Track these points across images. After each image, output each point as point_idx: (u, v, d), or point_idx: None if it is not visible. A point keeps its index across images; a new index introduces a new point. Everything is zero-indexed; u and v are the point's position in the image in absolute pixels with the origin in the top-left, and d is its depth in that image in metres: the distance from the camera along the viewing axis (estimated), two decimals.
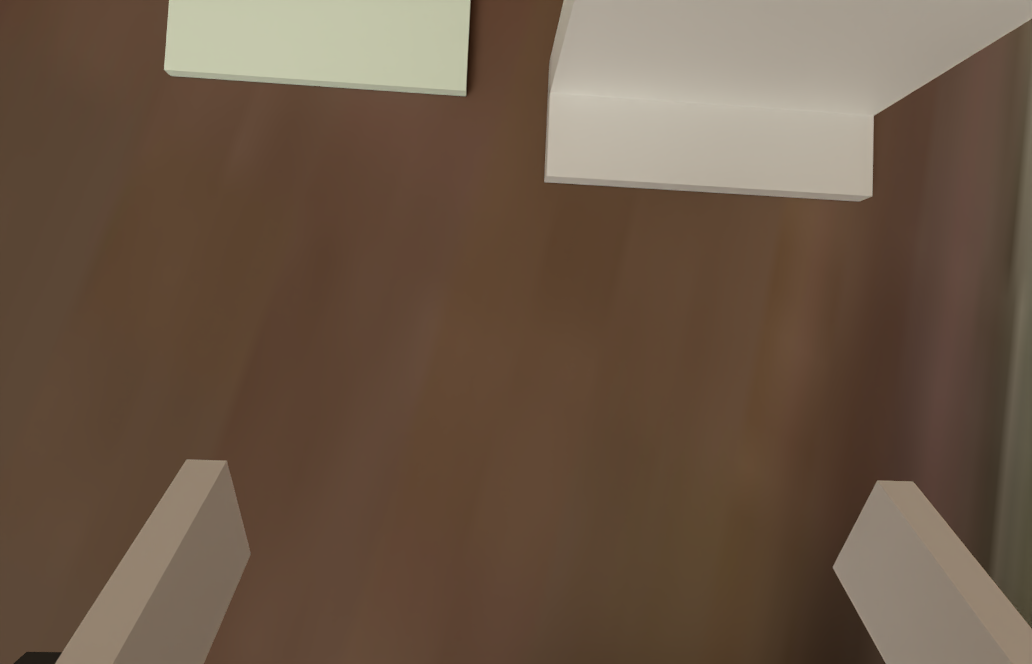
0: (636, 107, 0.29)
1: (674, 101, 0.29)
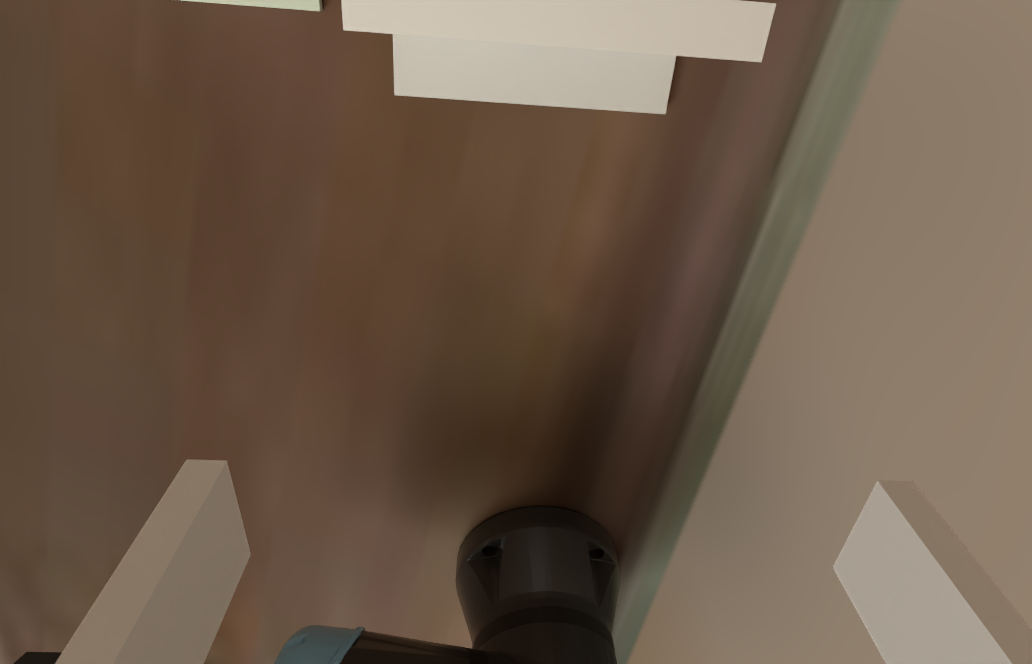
0: None
1: None
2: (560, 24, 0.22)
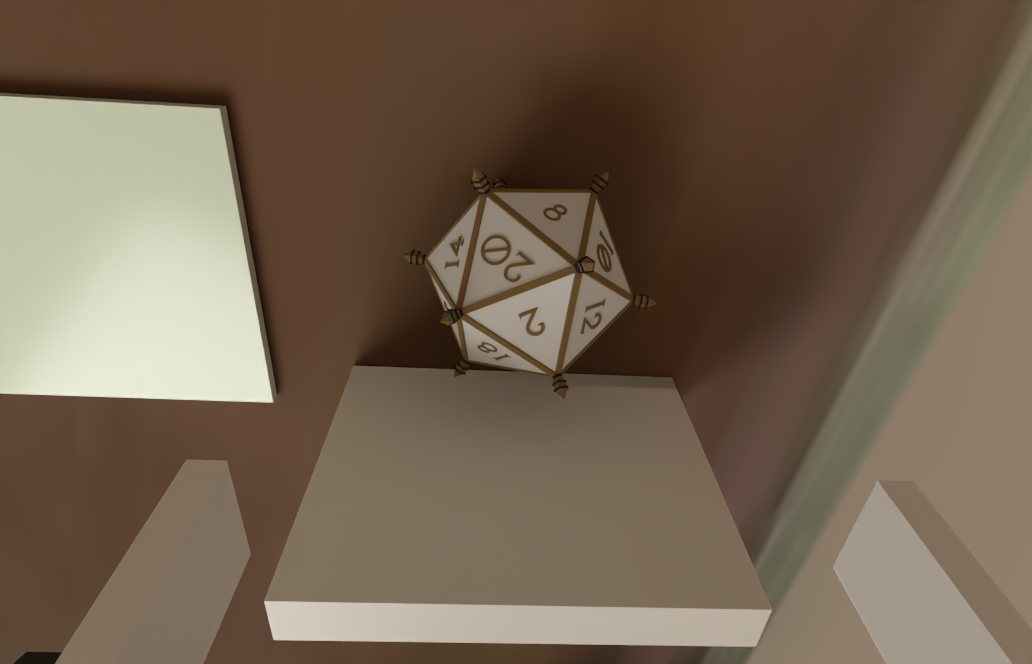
0: None
1: None
2: (522, 629, 0.19)
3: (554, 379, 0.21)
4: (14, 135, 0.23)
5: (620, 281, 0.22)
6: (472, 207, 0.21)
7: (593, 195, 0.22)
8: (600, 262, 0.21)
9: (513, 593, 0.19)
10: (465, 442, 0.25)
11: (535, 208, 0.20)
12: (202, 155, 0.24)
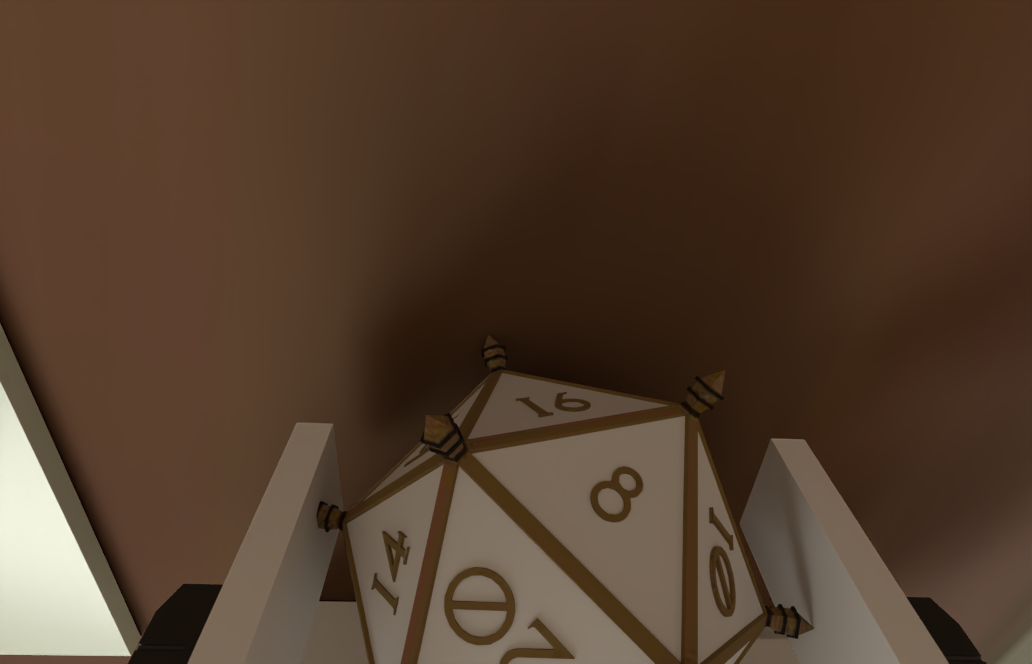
0: None
1: None
2: None
3: None
4: None
5: (747, 604, 0.10)
6: (429, 473, 0.09)
7: (692, 424, 0.10)
8: (719, 606, 0.09)
9: None
10: None
11: (570, 488, 0.09)
12: None
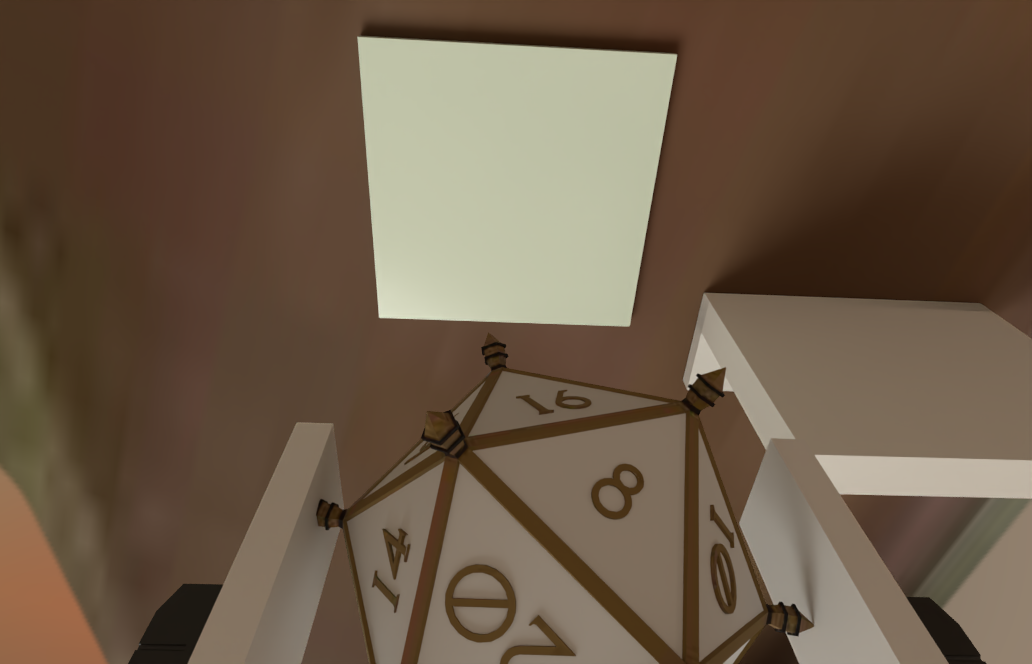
0: None
1: None
2: (997, 484, 0.23)
3: None
4: (495, 79, 0.27)
5: (748, 601, 0.10)
6: (428, 471, 0.09)
7: (693, 421, 0.10)
8: (720, 603, 0.09)
9: (996, 451, 0.23)
10: (854, 348, 0.29)
11: (572, 485, 0.09)
12: (648, 96, 0.27)
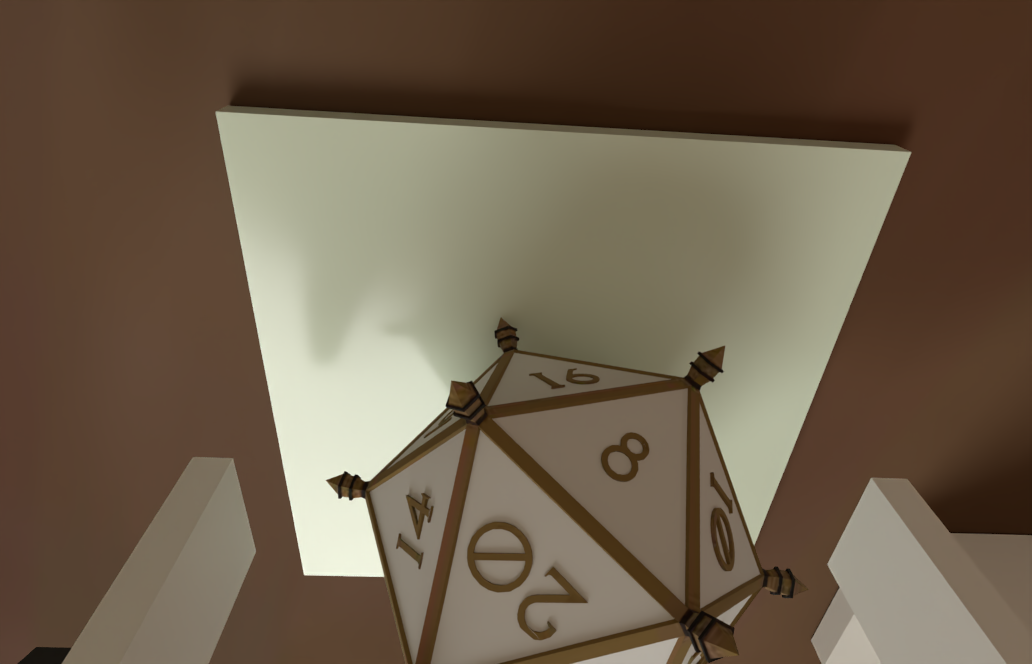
0: None
1: None
2: None
3: None
4: (518, 199, 0.13)
5: (745, 563, 0.11)
6: (450, 438, 0.10)
7: (694, 395, 0.11)
8: (719, 560, 0.10)
9: None
10: None
11: (583, 451, 0.10)
12: (835, 232, 0.13)
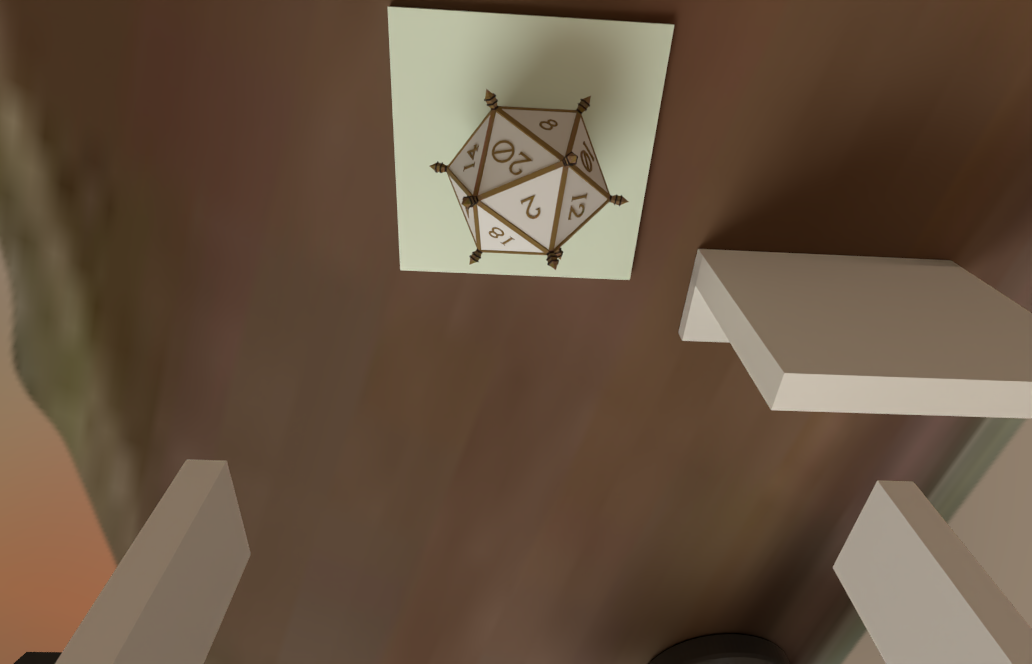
0: None
1: None
2: (954, 402, 0.26)
3: (548, 256, 0.28)
4: (510, 47, 0.30)
5: (599, 181, 0.28)
6: (484, 121, 0.27)
7: (578, 114, 0.28)
8: (583, 163, 0.27)
9: (952, 373, 0.26)
10: (833, 294, 0.32)
11: (533, 121, 0.27)
12: (648, 63, 0.30)
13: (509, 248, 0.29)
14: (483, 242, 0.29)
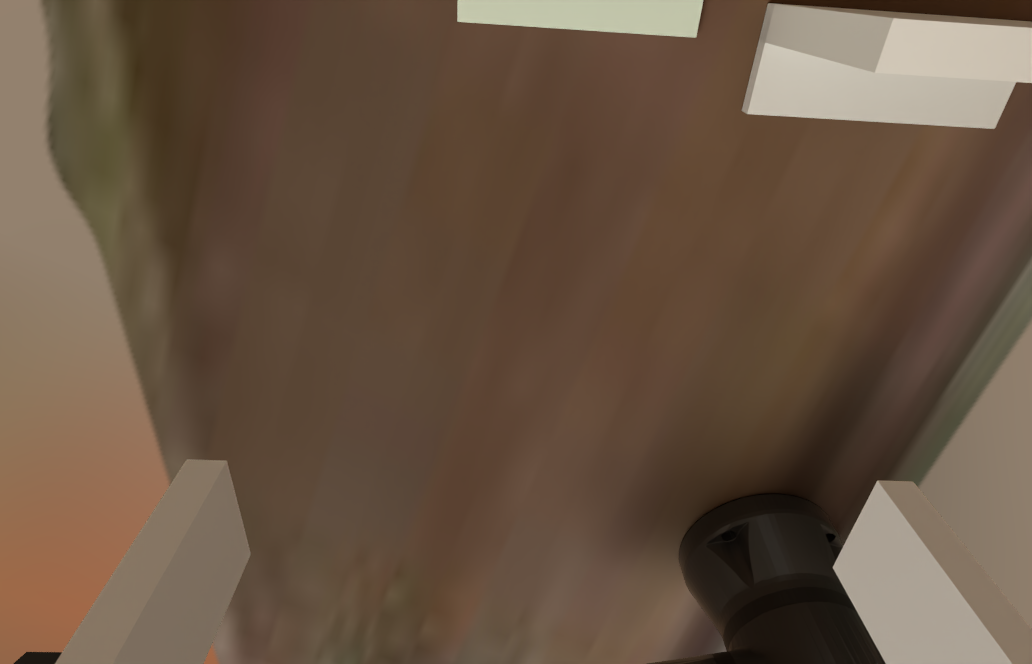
0: None
1: None
2: None
3: None
4: None
5: None
6: None
7: None
8: None
9: None
10: None
11: None
12: None
13: None
14: None
